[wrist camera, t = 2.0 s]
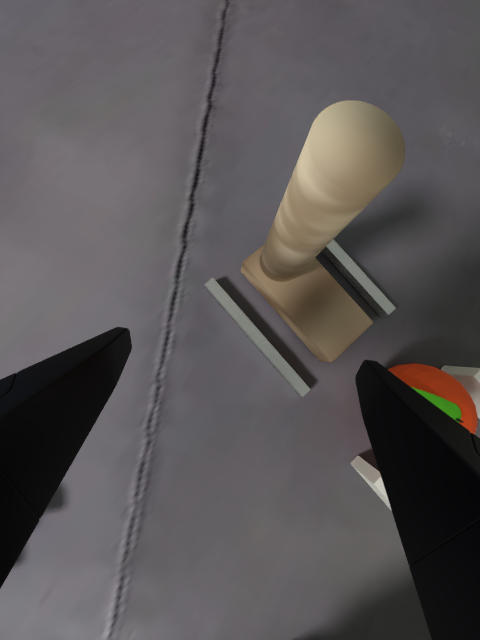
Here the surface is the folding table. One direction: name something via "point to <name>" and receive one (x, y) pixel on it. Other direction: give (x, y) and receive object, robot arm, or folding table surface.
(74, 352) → the robot arm
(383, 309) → the rails
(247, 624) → the folding table surface
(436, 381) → the clementine
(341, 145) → the ball
